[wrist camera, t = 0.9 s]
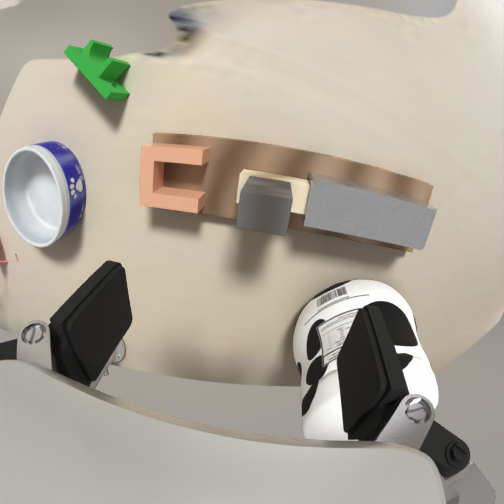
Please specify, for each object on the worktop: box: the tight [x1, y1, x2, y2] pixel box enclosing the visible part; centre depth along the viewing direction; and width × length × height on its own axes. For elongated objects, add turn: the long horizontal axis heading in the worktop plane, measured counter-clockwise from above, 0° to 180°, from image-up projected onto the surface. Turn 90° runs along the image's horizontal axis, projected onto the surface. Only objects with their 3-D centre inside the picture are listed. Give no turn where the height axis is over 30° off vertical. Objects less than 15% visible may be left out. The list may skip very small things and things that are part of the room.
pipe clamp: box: [64, 40, 130, 100], centre depth 24 cm, size 11×4×5 cm, turn 40°
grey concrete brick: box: [301, 172, 436, 250], centre depth 28 cm, size 15×5×4 cm, turn 82°
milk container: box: [293, 279, 438, 441], centre depth 31 cm, size 17×17×18 cm
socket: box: [140, 143, 210, 213], centre depth 29 cm, size 7×7×3 cm
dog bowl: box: [2, 142, 86, 248], centre depth 32 cm, size 15×15×6 cm
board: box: [153, 133, 433, 252], centre depth 31 cm, size 34×9×2 cm, turn 82°
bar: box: [236, 169, 311, 236], centre depth 26 cm, size 20×3×10 cm, turn 82°
